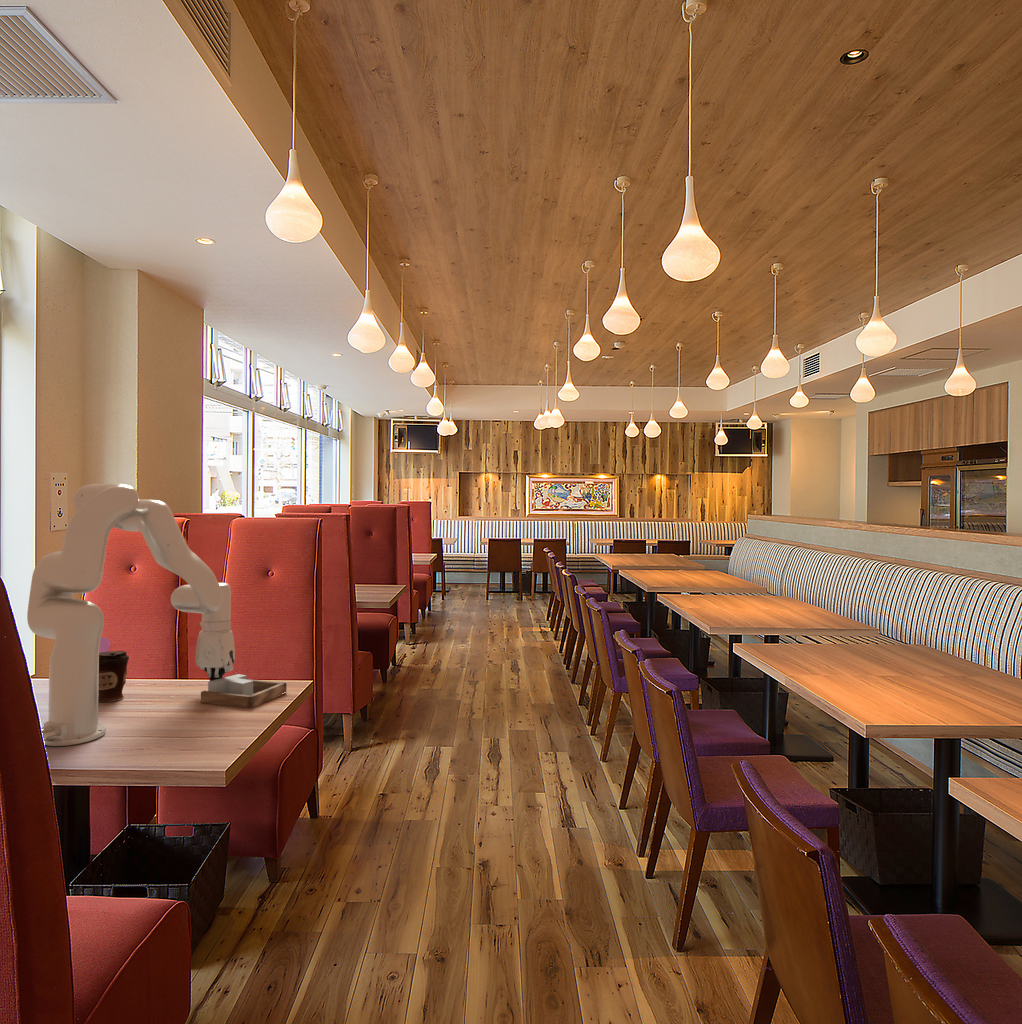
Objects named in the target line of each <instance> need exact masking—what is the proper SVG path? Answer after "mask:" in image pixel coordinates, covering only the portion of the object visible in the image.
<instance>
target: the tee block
mask: <svg viewBox="0 0 1022 1024" xmlns="http://www.w3.org/2000/svg"><path fill="white" fill-rule="evenodd" d="M247 677H248V676H247V675H245V674H240V673H237V674H233V675H229V676H224V677H222V678H221V679H217V680H213V681H210V680H209V681H208V682H207V687H208V688H207V691H212V692H222V693H231V694H241V695H253V694H254V691H253V681H251V680H247V679H248V678H247Z"/></svg>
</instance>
